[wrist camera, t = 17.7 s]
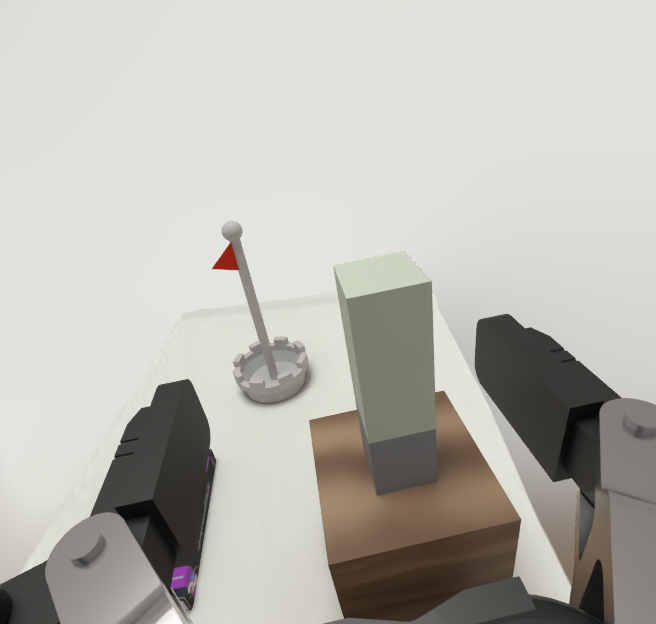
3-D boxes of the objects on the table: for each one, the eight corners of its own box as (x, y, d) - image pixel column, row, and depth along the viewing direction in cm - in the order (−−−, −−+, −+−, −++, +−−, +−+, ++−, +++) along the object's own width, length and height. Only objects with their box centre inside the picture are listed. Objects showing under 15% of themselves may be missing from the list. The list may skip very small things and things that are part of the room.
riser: (505, 622, 36) (521, 519, 28) (356, 659, 35) (328, 564, 27) (445, 489, 48) (443, 390, 40) (333, 515, 47) (309, 420, 39)
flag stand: (273, 352, 79) (232, 205, 64) (325, 370, 72) (292, 208, 57) (225, 393, 71) (164, 234, 56) (278, 417, 63) (224, 241, 48)
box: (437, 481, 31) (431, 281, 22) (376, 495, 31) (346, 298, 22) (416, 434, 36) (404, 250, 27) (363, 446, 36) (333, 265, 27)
